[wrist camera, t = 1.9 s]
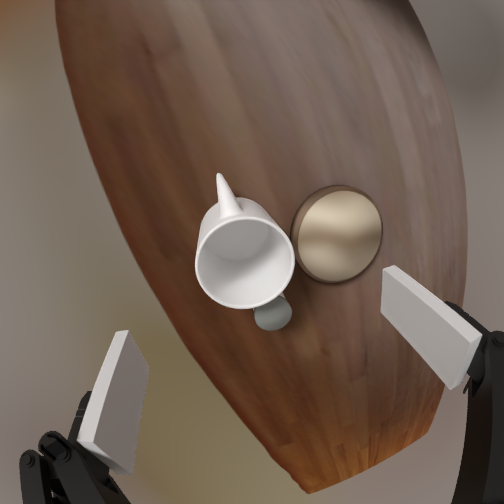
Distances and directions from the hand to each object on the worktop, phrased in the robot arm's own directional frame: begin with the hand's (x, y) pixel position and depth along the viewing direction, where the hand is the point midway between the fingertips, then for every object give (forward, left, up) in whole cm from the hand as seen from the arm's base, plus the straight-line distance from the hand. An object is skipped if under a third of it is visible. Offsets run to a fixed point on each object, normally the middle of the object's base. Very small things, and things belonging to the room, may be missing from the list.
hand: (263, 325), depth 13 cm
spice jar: (+10, +2, -21) cm, 24 cm away
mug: (0, 0, -22) cm, 22 cm away
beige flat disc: (+5, +13, -21) cm, 25 cm away
